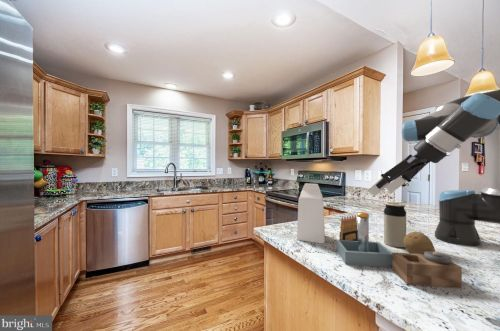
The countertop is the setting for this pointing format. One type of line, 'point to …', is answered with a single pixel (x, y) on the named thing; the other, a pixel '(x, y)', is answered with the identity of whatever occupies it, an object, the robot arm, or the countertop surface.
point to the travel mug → (394, 224)
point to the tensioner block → (427, 269)
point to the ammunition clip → (349, 229)
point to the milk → (311, 215)
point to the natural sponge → (417, 243)
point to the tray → (364, 254)
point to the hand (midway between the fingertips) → (380, 191)
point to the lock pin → (363, 232)
